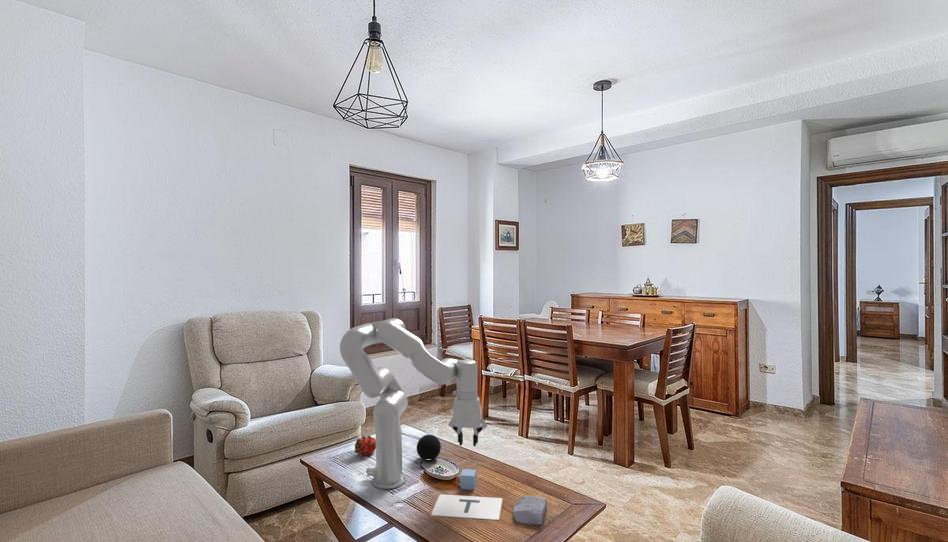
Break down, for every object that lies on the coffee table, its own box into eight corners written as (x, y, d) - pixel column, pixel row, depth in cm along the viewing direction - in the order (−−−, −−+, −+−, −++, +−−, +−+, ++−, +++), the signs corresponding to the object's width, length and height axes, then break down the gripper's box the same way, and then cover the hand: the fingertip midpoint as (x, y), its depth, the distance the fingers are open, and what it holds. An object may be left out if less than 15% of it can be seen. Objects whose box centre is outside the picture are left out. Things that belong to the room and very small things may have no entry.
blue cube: (460, 489, 161) (460, 475, 161) (463, 482, 166) (462, 469, 166) (474, 490, 161) (474, 476, 161) (476, 483, 166) (476, 469, 166)
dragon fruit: (353, 463, 187) (373, 457, 197) (366, 454, 184) (386, 448, 194) (346, 444, 190) (366, 438, 201) (359, 435, 187) (379, 430, 198)
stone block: (512, 528, 140) (544, 526, 138) (509, 512, 141) (540, 510, 138) (520, 509, 152) (549, 507, 149) (517, 494, 152) (546, 492, 149)
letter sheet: (430, 515, 145) (430, 514, 145) (439, 494, 157) (439, 494, 157) (498, 520, 141) (498, 519, 141) (502, 498, 154) (502, 498, 154)
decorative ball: (442, 463, 182) (441, 439, 182) (417, 465, 181) (416, 441, 180) (440, 453, 192) (439, 430, 192) (416, 455, 190) (416, 431, 190)
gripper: (442, 396, 161) (443, 447, 161) (489, 398, 158) (489, 449, 158) (446, 391, 168) (447, 439, 168) (491, 392, 165) (492, 441, 166)
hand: (468, 444), depth 163 cm, fingers open, 4 cm apart
